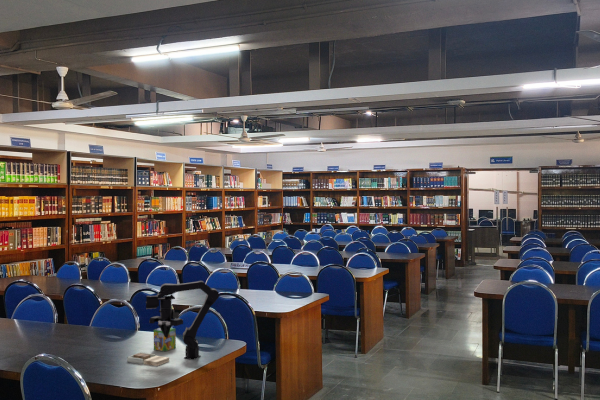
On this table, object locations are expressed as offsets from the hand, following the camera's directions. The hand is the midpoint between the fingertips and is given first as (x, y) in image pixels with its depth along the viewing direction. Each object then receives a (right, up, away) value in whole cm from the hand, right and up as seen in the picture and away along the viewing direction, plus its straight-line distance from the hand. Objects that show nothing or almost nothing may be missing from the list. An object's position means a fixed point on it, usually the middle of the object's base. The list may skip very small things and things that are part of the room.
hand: (166, 337), depth 277 cm
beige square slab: (-4, -12, -5) cm, 14 cm away
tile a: (-11, -12, -1) cm, 16 cm away
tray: (-13, -12, 0) cm, 18 cm away
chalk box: (-7, -13, +22) cm, 26 cm away
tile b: (-15, -12, +1) cm, 19 cm away
